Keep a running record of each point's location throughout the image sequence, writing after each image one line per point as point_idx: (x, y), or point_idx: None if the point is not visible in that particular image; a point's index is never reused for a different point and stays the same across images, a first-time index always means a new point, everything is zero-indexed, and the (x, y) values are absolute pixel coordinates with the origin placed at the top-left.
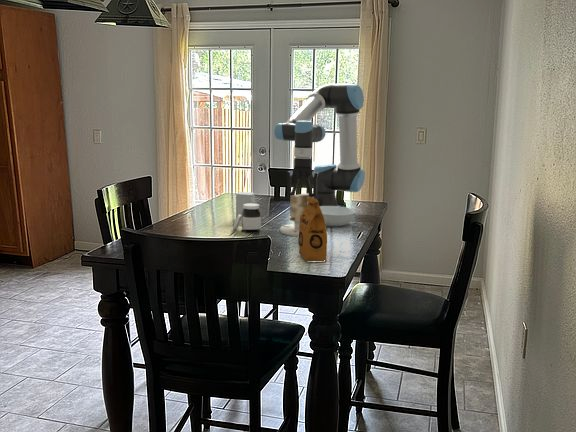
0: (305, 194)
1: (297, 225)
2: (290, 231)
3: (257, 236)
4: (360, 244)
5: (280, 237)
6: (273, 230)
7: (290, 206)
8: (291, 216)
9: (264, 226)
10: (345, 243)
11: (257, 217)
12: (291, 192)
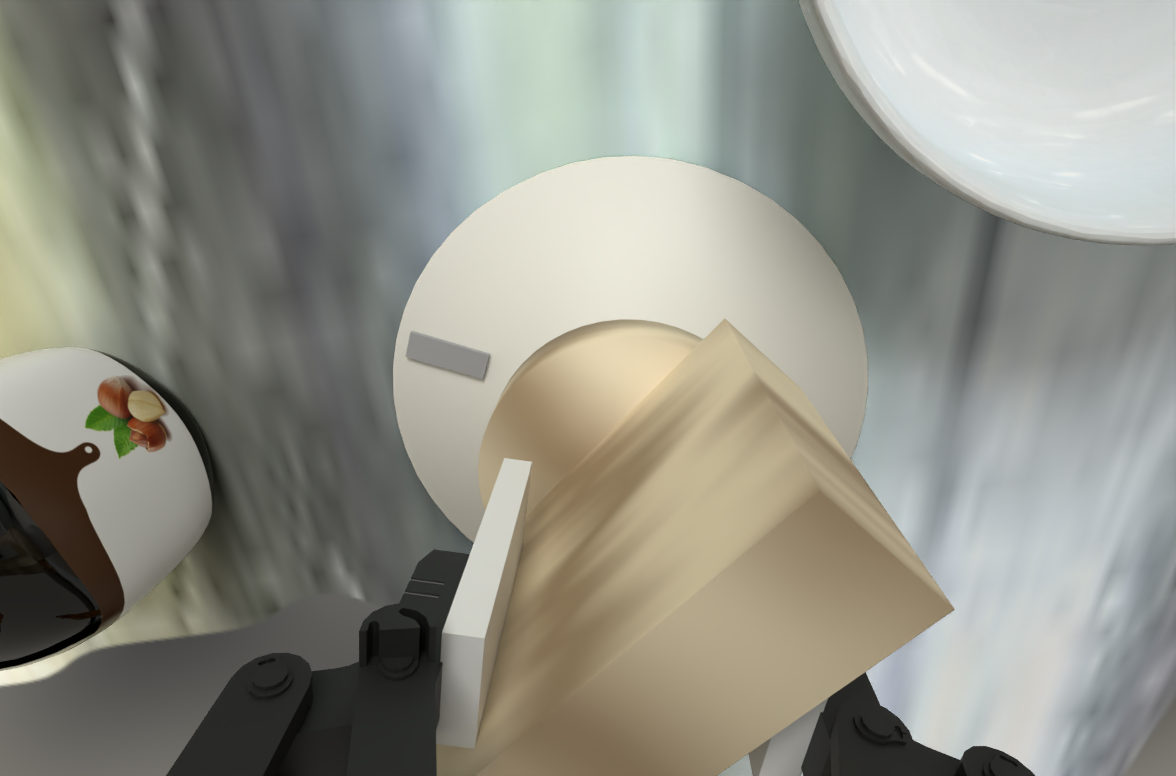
0: (717, 701)
1: None
2: None
3: (260, 613)
4: (1137, 733)
5: None
6: (331, 382)
7: None
8: None
9: (176, 206)
10: (1012, 720)
11: (107, 626)
12: (345, 767)
